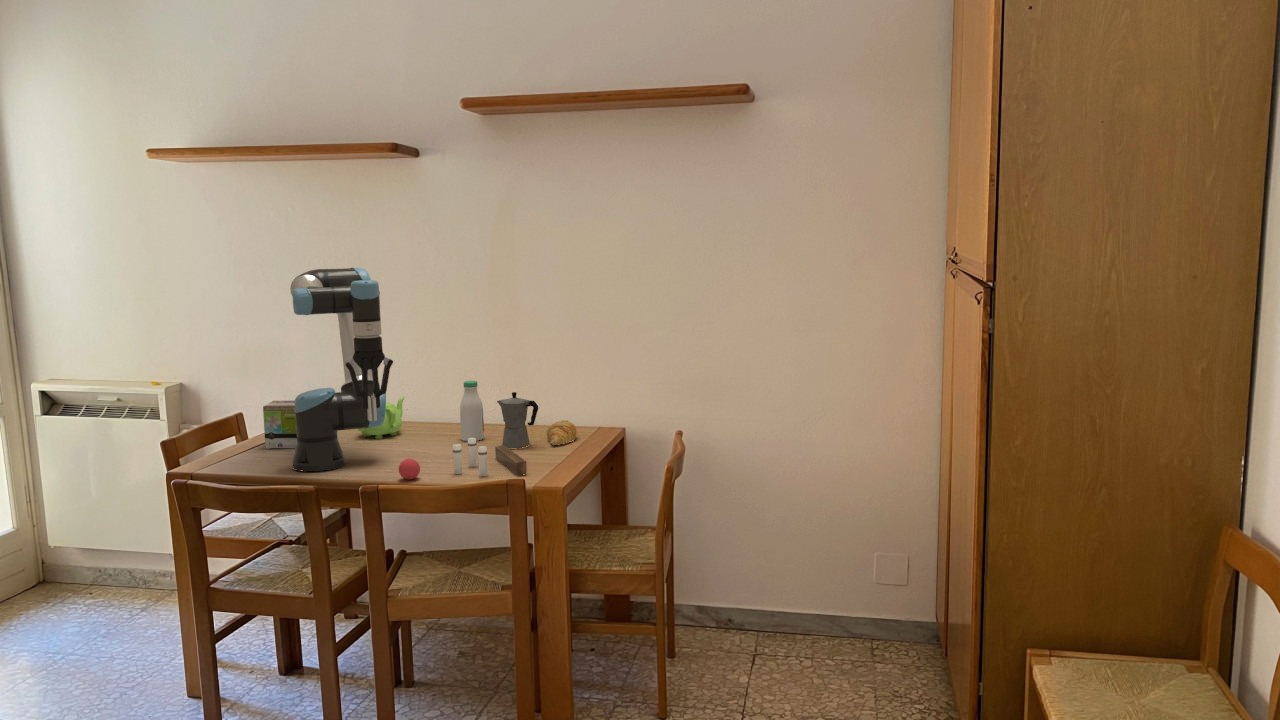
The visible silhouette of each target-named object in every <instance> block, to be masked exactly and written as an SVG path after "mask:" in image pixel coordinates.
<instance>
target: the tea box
mask: <svg viewBox="0 0 1280 720" xmlns="http://www.w3.org/2000/svg"><path fill="white" fill-rule="evenodd" d="M262 410H263V411H262V412H263V413H262V414H263V429H264V431H263V432H264V443H265V449H267V450H268V449H296V446H297V430H296V413H295V412H294V410H295V400H272V401H271V402H269V403H267V404H266V405H263V406H262Z"/></svg>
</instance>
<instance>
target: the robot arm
mask: <svg viewBox="0 0 1280 720" xmlns="http://www.w3.org/2000/svg"><path fill="white" fill-rule="evenodd" d="M289 290H290V294H291V297H292V298H291V299H292V306H293V307H292V308H293V313H294V314H295V315H297V316H310V315H311V316H312V315H325V314H336V315H337V318H338V320H337V321H338V327H339V337H340V347H341V355H342V364H343V373H344V383H343V384H342V385H341V387H340V391H339V392H336V390H335V388H333V387H322V388H317V389H315V388H314V389H312V390H307V391H304V392H301V393H300V394H298V395H297V396H296V397H295V398H294V399H295V400H294V401H295V410H294V412H295V413H296V430H297V446H296V448H295V451H294V454H293V459H292V461H291V463H292V469H293V468H294V469H297V470H303V471H320V472H323V471H322V470H328V471H330V470H329V469H333V470H335V469H334V468H337V469H339V468H338V467H340V468H342V467H343V465H344V464H345V465H346V458H345V454H344V451H343V450H342V447H341V445H340V442H339V439H338V431H347V430H348V431H349V430H358V429H361V428H371V427H378V426H381V425H382V424H383V423H384V420H385V411H386V403H387V388H388V383H389V376H390V372H391V371H390V370H391V368H392V366H393V364H394V360H393V359H392V358H388V357H386V355H385V353H384V352H383V338H382V337H381V335H382V322H381V321H382V320H381V303H380V301H381V300H380V294H381V292H380V287H379V282H378V281H377V280H374V279H373V280H371V276H370V274H369V272H368V271H367V270H366V269H365V268H361V267H357V268H356V267H350V268H349V267H348V268H318V269H312V270H308V271H305V272H302V273H301V274H299V275H298V276H296V277H295V278H294V279H293V280H292V282H291V284H290V289H289ZM382 362H383V365H384V367H383V371H382V378H381V379H382V380H381V385H380V381H379V367H380V366H381V364H382ZM345 465H344V466H345ZM341 466H342V467H341ZM294 469H293V470H294Z"/></svg>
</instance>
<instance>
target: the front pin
mask: <svg viewBox="0 0 1280 720" xmlns="http://www.w3.org/2000/svg"><path fill="white" fill-rule="evenodd" d="M462 452H463V450H462V444H461V443H455V444H452V455H453V457H452V459H453V460H452V461H453V474H454V475H462V474H463V459H462Z"/></svg>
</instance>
